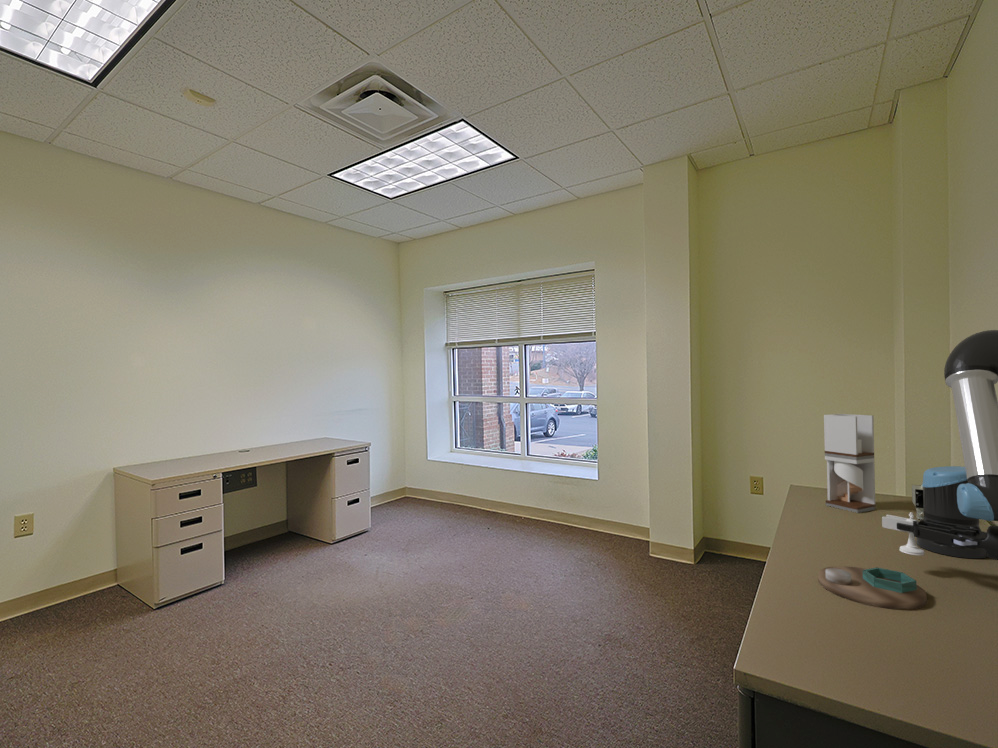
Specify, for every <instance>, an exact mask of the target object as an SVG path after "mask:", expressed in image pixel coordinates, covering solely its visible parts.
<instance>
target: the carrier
mask: <svg viewBox="0 0 998 748" xmlns="http://www.w3.org/2000/svg"><path fill="white" fill-rule="evenodd" d="M817 575H818V576H817V579H818V583H819V585H820V584H821V585H822V586H823V587H822V586H821V585H820V586H821V587H822V588H824V589H827V591H828V592H830V593H831V594H833V595H836V596H838V595H839V596H838V597H840V596H841V598H843V599H845V598H846V600H849V601H852V602H855V603H857V604H858V603H859V604H862V605H865V606H870V607H876V608H881V609H882V608H883V609H890V610H903V611H904V610H916V609H920V608H923V607H925V606H926V605H927V602H928V599H927V598H928V597H927V596H928V595H927V592H926V591H925V589H923V588H922V587H921V586H919V585H918V584H917V580H915V579H914V578H913V577H912V576H910V575H908V574H906V573H904V572H902V571H898V570H892V569H889V568H888V569H886V568H883V567H882V568H881V567H878V566H877V567H871V568H864V567H858V566H857V567H856V566H845V565H844V566H842V565H841V566H840V565H839V566H838V565H837V566H828V567H824V568H822V569H820V570H819V571H818V573H817Z"/></svg>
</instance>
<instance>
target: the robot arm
mask: <svg viewBox="0 0 998 748" xmlns="http://www.w3.org/2000/svg"><path fill="white" fill-rule="evenodd" d="M943 377H944V383H945V385H946V386H947V387H949V388H950V389H951V390H952V397H953V402H954V403H953V404H954V409H955V415H956V421H957V422H956V423H957V427H958V435H959V439H960V446H961V449H962V456H963V463H964V466H961V465H960V466H957V465H956V466H955V465H952V466H949V465H947V466H938V467H937V466H935V467H932V468H931V467H930V468H928V469H925V471H924V472H923V477H922V483H921V484H922V486H923V500H924V513H923V515H924V519H923V520H922V519H921V520H918V519H915V520H916V521H913V522H910V521H906V520H907V519H910V517H909V518H908V517H904V516H897V515H893V514H892V515H891V514H889V513H888V514H885V516H882V517H881V526H882V528H884V529H889V530H894V531H899V532H903V533H908V534H909V533H912V534H914V537H915V541H916V545H917V546H918V547H919V548H921V549H923V550H927V551H929V552H933V553H937V554H941V555H945V556H949V557H950V556H951V557H955V558H965V559H986V558H989V559H991V560H994V561H998V525H989V526H988V527H987V529H986V531H984V530H983V531H982V529H981V527H980V520H982V521H988V522H998V396H997V391H996V387H995V385H996V384H997V383H998V329H990V330H989V329H987V330H983V331H979V332H975V333H973V334H971V335H969V336H967V337H965V338H964V339H963V340H961V341H960V342H959V343H958V344H957V345H956V346H955V347H954V348H953V349H952V350H951V352H950V353H949V355H948V356H947V359H946V361H945V365H944V371H943Z"/></svg>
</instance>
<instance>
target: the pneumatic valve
mask: <svg viewBox="0 0 998 748" xmlns="http://www.w3.org/2000/svg"><path fill="white" fill-rule="evenodd" d="M922 484H923V483H921V484H919V485H918V484H911V502H912V503H913V505H914V507H915V510H916V515H915V517H916V520H918V519H920V520H923V519H924V500H923V486H922ZM920 520H919V521H920Z"/></svg>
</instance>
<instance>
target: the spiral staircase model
mask: <svg viewBox="0 0 998 748" xmlns="http://www.w3.org/2000/svg"><path fill="white" fill-rule="evenodd" d="M874 421H875V420H874V415H868V414H855V413H852V414H851V413H848V414H847V413H831V414H824V415H823V425H824V426H823V429H824V430H823V432H824V433H823V436H824V460H825V461H826V483H827V485H826V487H827V499H826V500H825V506H826V505H827V506H826V507H829V506H831V507H830V508H833V507H835V508H834V509H838V508H839V509H838V510H842V509H843V510H842V511H846V510H848V511H847V512H851V511H852V512H851V513H855V512H856V513H857V514H859V513H866V512H870V511H875V510H876V478H875V475H876V473H875V472H876V470H875V466H876V465H875V430H874V429H875V428H874V427H875V425H874ZM856 513H855V514H856Z"/></svg>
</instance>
